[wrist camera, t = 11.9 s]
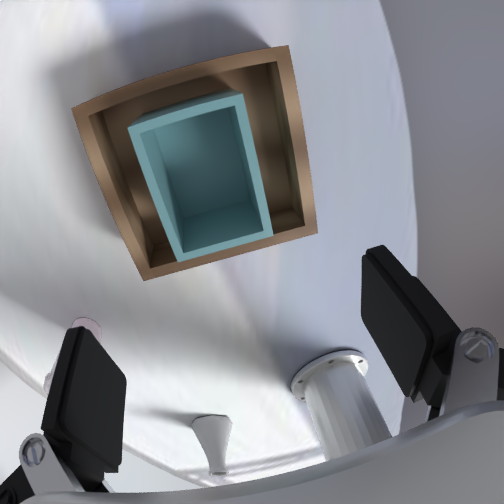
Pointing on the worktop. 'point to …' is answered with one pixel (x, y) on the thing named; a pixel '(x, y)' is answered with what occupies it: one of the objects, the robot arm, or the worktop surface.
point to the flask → (214, 441)
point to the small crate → (203, 173)
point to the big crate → (264, 136)
